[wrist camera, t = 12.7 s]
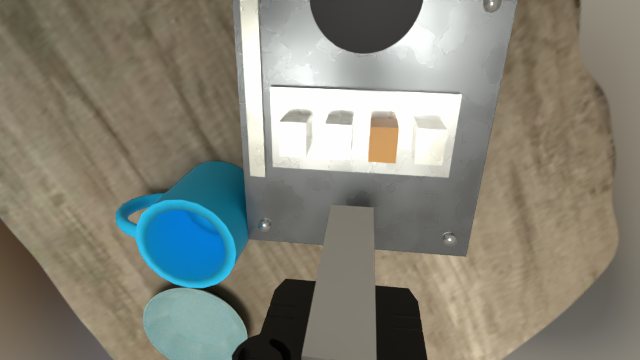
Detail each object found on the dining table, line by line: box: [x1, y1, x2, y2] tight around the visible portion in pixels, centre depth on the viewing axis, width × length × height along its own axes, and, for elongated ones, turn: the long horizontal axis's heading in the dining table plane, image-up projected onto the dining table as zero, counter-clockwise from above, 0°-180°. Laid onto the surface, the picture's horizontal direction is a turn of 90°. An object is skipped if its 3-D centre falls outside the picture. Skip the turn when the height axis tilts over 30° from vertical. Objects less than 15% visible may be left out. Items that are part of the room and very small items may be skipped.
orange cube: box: [368, 117, 399, 163], centre depth 26 cm, size 2×2×2 cm
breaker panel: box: [232, 0, 517, 257], centre depth 29 cm, size 20×18×8 cm
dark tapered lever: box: [309, 0, 423, 54], centre depth 17 cm, size 3×3×16 cm
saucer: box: [143, 288, 248, 360], centre depth 43 cm, size 12×12×2 cm
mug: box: [116, 161, 248, 288], centre depth 34 cm, size 12×8×8 cm
